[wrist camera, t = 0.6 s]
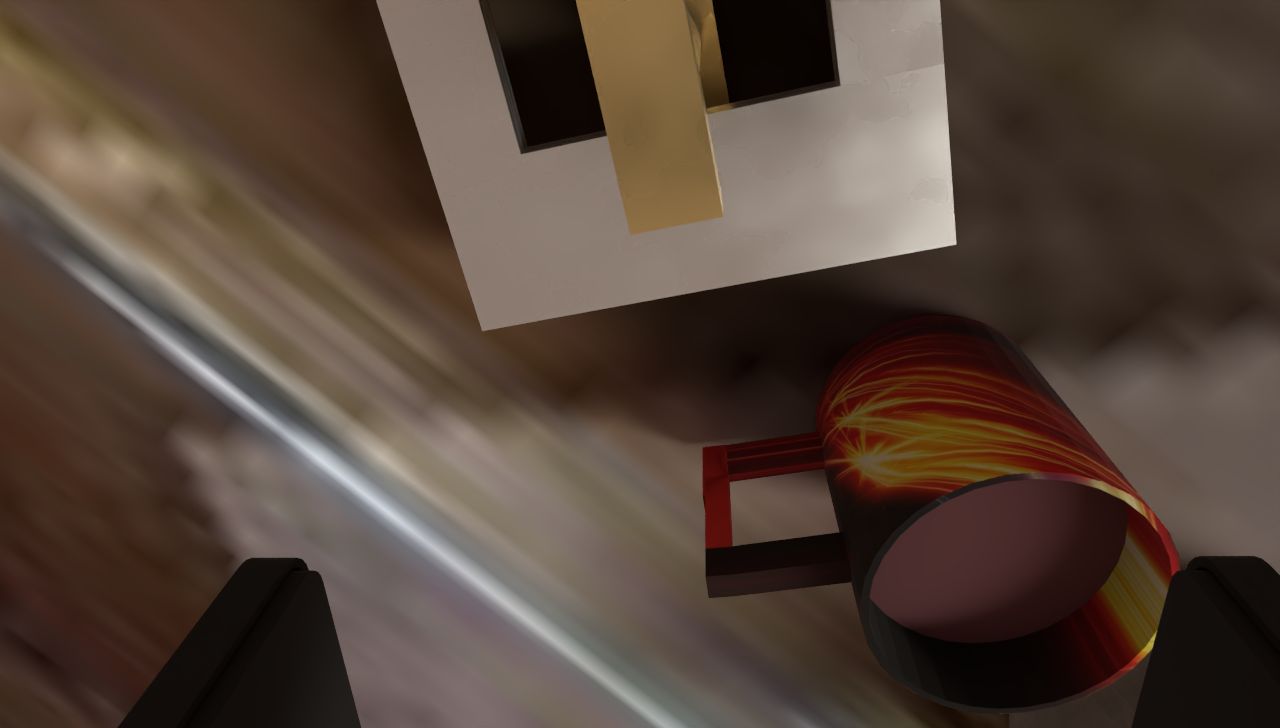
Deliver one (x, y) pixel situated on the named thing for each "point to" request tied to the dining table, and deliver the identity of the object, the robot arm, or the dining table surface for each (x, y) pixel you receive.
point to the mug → (960, 523)
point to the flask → (1092, 706)
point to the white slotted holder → (745, 158)
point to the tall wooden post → (658, 104)
